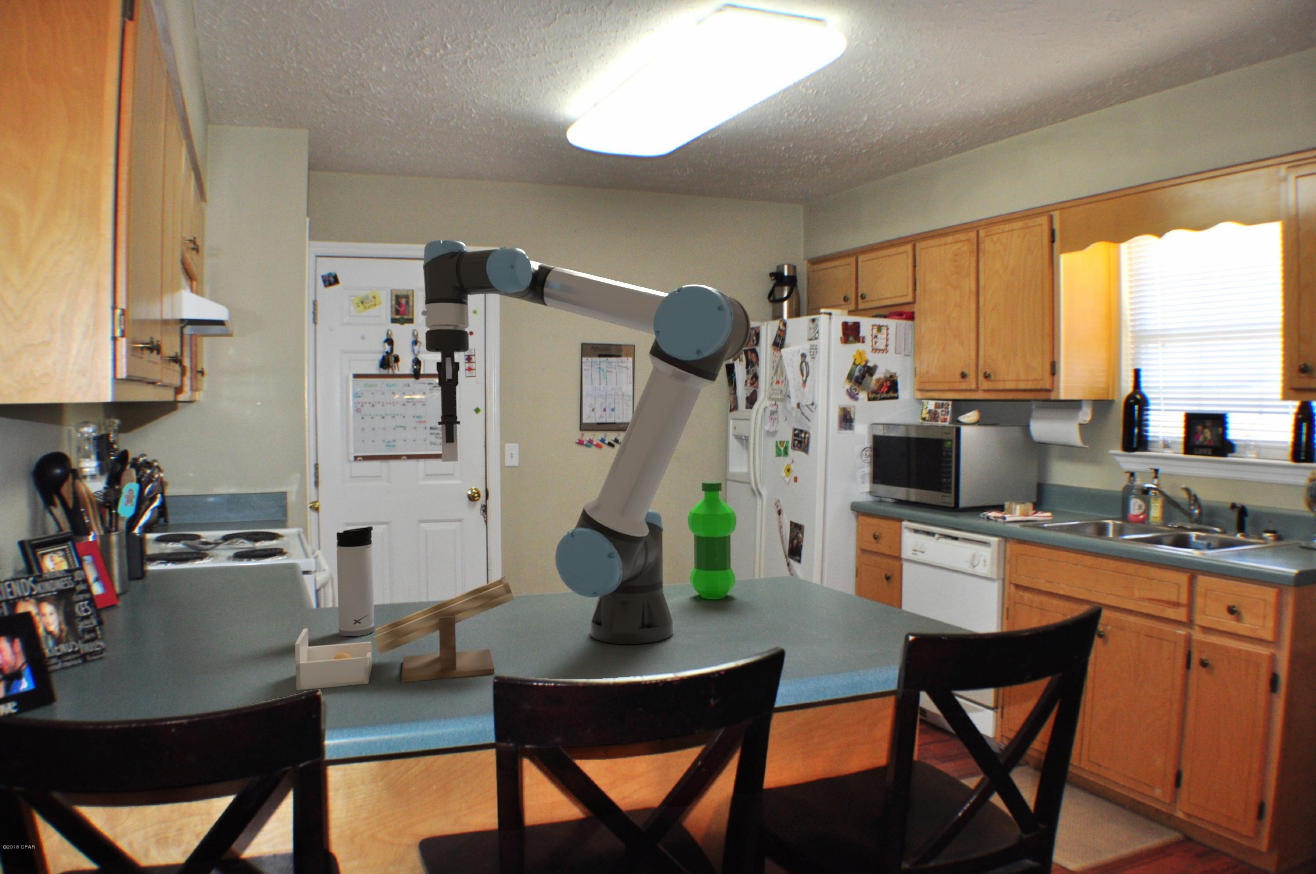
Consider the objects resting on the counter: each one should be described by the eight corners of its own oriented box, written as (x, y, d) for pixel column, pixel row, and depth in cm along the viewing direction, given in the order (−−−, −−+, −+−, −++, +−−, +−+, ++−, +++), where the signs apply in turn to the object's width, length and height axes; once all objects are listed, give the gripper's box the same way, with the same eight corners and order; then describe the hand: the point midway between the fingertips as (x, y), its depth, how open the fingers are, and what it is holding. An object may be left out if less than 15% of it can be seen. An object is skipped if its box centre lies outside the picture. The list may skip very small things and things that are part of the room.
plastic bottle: (691, 591, 192) (689, 480, 191) (738, 591, 190) (737, 480, 189) (686, 601, 182) (685, 484, 181) (735, 602, 180) (734, 484, 179)
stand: (489, 654, 145) (488, 600, 145) (494, 673, 134) (493, 615, 134) (403, 661, 141) (402, 606, 141) (401, 682, 131) (400, 622, 130)
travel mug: (364, 638, 156) (361, 529, 155) (332, 636, 157) (329, 528, 157) (382, 629, 162) (379, 524, 161) (350, 627, 164) (348, 524, 163)
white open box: (371, 665, 139) (370, 623, 139) (368, 683, 130) (366, 638, 130) (304, 671, 137) (303, 628, 136) (296, 690, 128) (295, 643, 127)
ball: (340, 679, 134) (359, 668, 135) (332, 675, 131) (352, 664, 132) (332, 662, 135) (351, 651, 136) (325, 658, 133) (344, 647, 133)
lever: (507, 583, 149) (501, 569, 149) (514, 599, 137) (508, 583, 137) (384, 633, 144) (378, 618, 144) (380, 654, 132) (373, 638, 132)
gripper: (425, 332, 158) (428, 459, 159) (425, 326, 145) (428, 464, 146) (466, 332, 160) (469, 458, 161) (470, 326, 147) (473, 462, 148)
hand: (449, 461), depth 153 cm, fingers closed
